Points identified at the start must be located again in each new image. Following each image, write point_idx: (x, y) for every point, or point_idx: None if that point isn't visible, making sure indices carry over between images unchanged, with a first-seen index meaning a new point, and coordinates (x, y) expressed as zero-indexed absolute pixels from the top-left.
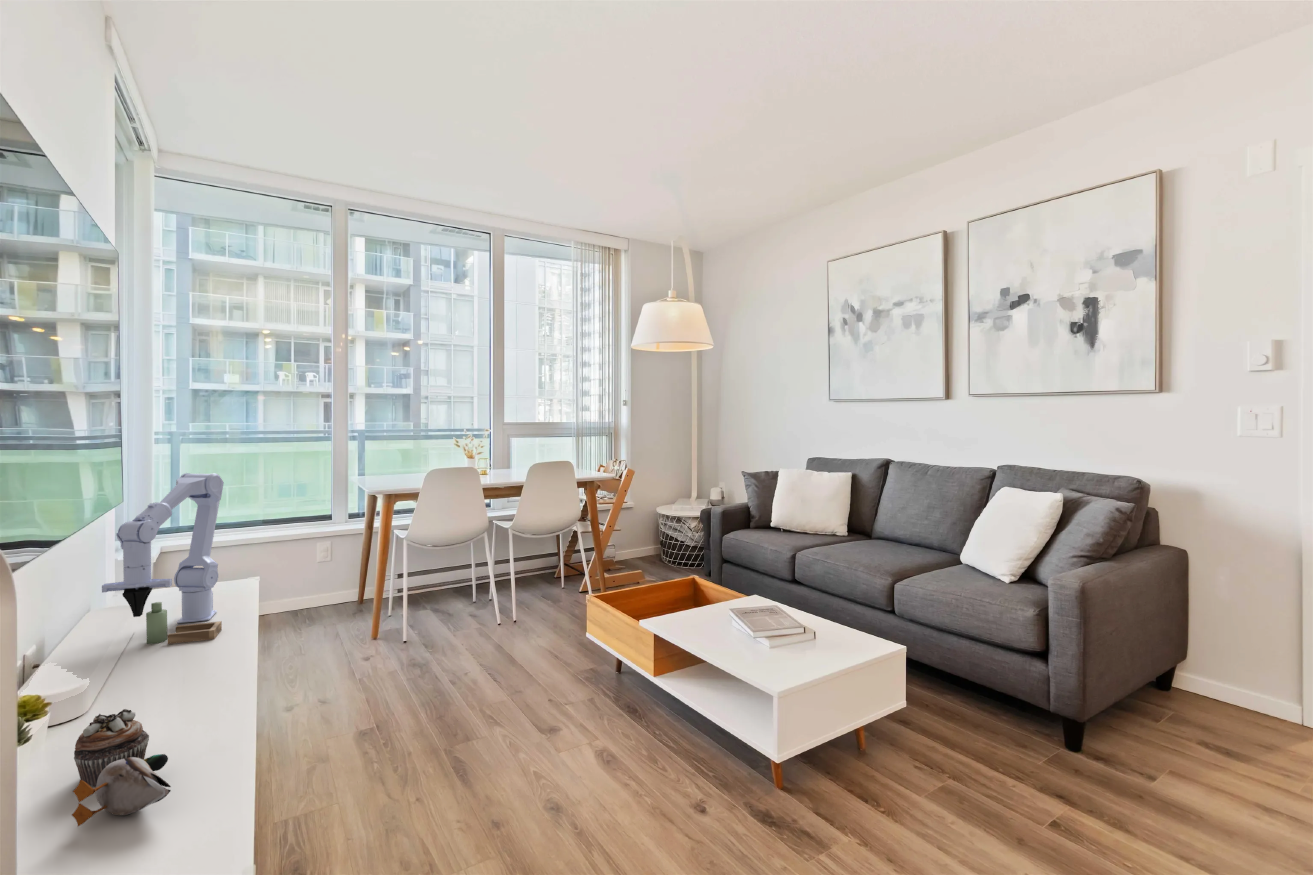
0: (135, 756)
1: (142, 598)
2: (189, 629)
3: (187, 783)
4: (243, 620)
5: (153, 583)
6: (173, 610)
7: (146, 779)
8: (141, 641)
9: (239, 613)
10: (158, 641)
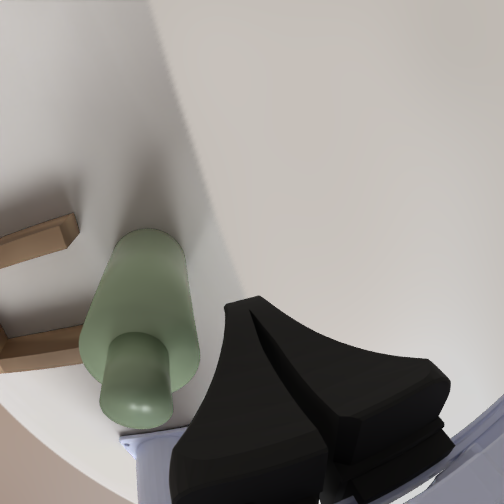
0: None
1: (212, 403)
2: (66, 339)
3: None
4: (21, 416)
5: None
6: None
7: None
8: (214, 268)
9: (85, 462)
10: (123, 238)
